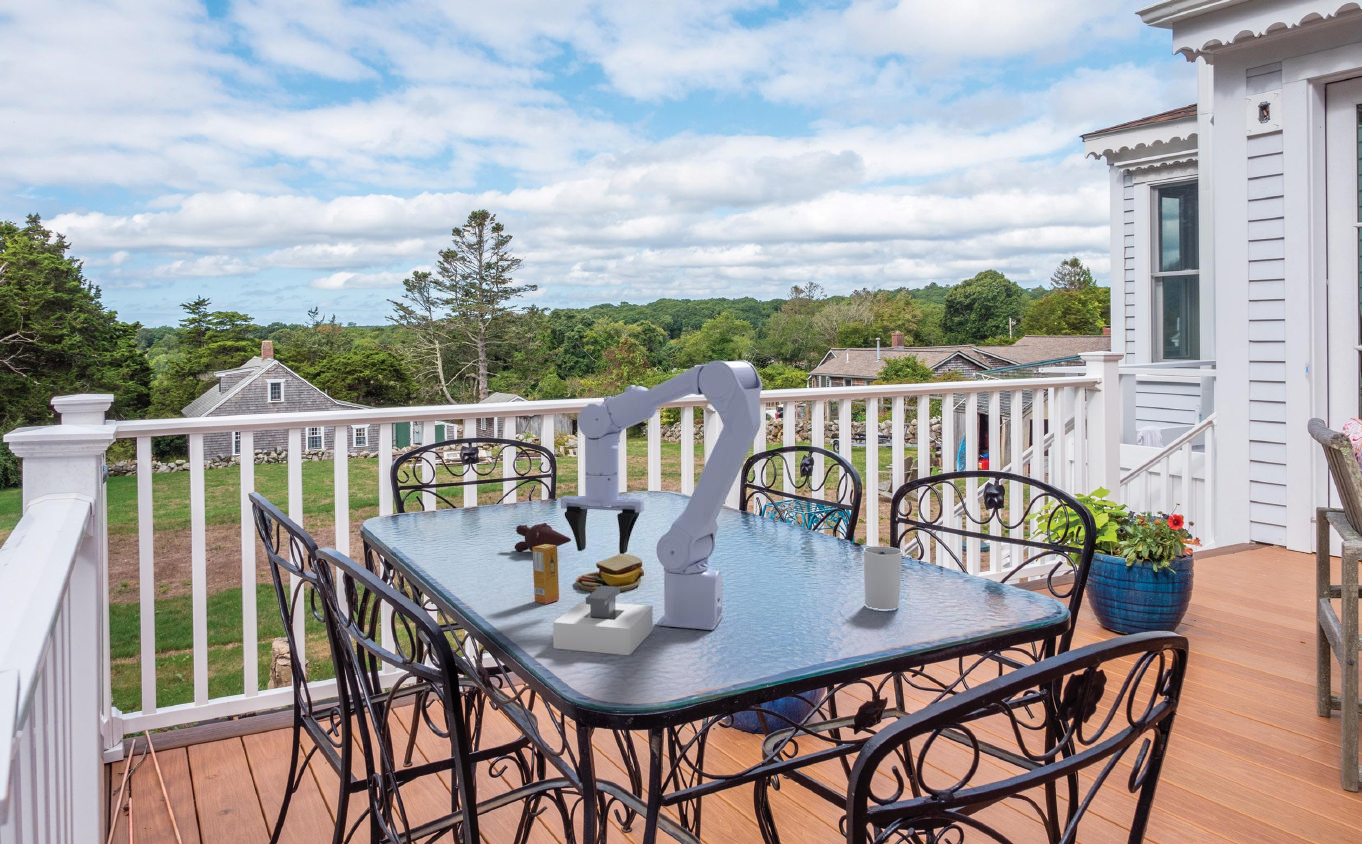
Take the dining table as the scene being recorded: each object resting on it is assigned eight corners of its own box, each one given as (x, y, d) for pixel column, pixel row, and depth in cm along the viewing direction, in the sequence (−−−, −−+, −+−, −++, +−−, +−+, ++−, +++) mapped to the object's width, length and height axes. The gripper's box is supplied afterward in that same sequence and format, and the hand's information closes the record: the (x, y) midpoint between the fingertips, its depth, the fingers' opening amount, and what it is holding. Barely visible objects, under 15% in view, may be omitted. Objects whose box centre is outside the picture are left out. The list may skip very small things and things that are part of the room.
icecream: (582, 524, 196) (528, 523, 203) (561, 521, 189) (506, 520, 197) (579, 557, 194) (525, 554, 202) (558, 555, 188) (503, 553, 196)
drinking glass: (854, 603, 159) (855, 548, 158) (885, 599, 161) (887, 544, 160) (877, 614, 153) (878, 556, 152) (909, 609, 155) (910, 552, 154)
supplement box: (546, 597, 162) (545, 542, 161) (559, 600, 160) (559, 545, 159) (532, 601, 160) (531, 545, 159) (545, 604, 157) (545, 548, 157)
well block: (652, 630, 143) (652, 605, 143) (629, 655, 132) (629, 628, 132) (582, 624, 146) (581, 600, 146) (553, 648, 135) (553, 622, 135)
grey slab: (619, 624, 141) (619, 586, 141) (604, 638, 135) (604, 598, 134) (601, 622, 142) (601, 585, 142) (585, 636, 135) (585, 597, 135)
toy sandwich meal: (564, 582, 173) (564, 558, 173) (626, 573, 180) (626, 550, 180) (593, 598, 163) (593, 572, 162) (657, 587, 170) (657, 563, 169)
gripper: (553, 474, 152) (554, 553, 153) (635, 478, 148) (635, 558, 150) (569, 469, 159) (569, 544, 160) (647, 472, 155) (647, 549, 156)
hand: (602, 551), depth 155 cm, fingers open, 7 cm apart
